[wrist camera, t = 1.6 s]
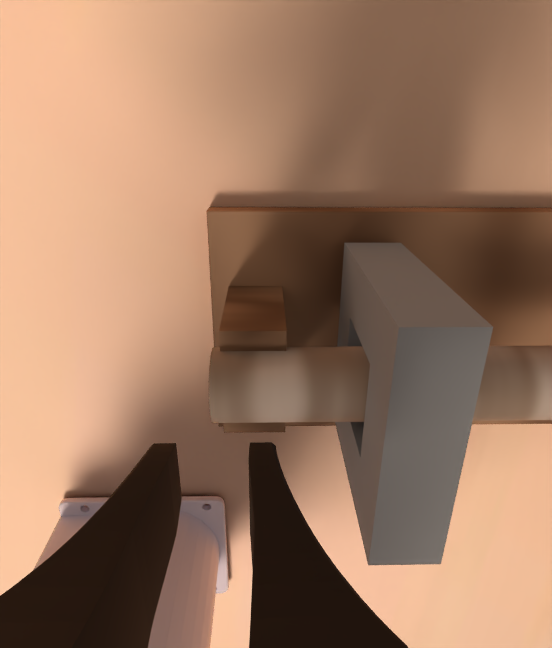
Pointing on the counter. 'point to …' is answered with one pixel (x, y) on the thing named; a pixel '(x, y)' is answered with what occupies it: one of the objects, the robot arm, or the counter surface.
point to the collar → (408, 399)
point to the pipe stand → (324, 308)
